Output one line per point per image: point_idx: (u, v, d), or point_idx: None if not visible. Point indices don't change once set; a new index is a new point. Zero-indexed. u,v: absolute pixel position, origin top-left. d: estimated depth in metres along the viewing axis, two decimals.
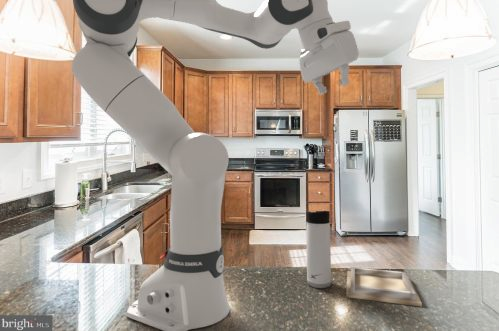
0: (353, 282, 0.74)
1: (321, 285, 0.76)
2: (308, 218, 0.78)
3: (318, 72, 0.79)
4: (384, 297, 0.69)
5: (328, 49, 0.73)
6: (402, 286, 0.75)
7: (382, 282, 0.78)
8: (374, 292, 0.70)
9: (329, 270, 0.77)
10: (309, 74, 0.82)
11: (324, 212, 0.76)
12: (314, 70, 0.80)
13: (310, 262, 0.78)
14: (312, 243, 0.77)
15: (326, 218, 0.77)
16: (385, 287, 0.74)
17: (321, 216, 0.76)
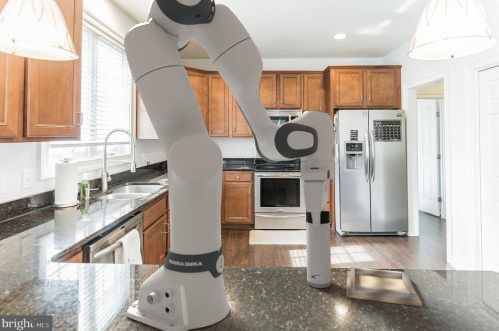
0: (353, 282, 0.74)
1: (321, 285, 0.76)
2: (308, 218, 0.78)
3: None
4: (384, 297, 0.69)
5: None
6: (402, 286, 0.75)
7: (382, 282, 0.78)
8: (374, 292, 0.70)
9: (329, 270, 0.77)
10: None
11: (324, 212, 0.76)
12: None
13: (310, 263, 0.78)
14: (312, 243, 0.77)
15: (326, 218, 0.77)
16: (385, 287, 0.74)
17: (321, 216, 0.76)
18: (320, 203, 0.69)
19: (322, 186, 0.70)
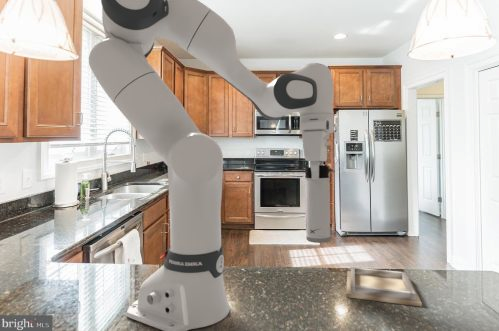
0: (353, 282, 0.74)
1: (320, 239, 0.76)
2: (307, 173, 0.78)
3: None
4: (384, 297, 0.69)
5: None
6: (402, 286, 0.75)
7: (382, 282, 0.78)
8: (374, 292, 0.70)
9: (328, 225, 0.77)
10: None
11: (323, 166, 0.76)
12: None
13: (309, 218, 0.77)
14: (311, 197, 0.77)
15: (325, 173, 0.77)
16: (385, 287, 0.74)
17: (320, 170, 0.76)
18: (319, 151, 0.69)
19: (321, 134, 0.70)
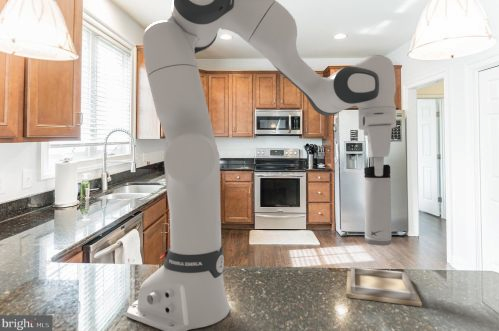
0: (353, 282, 0.74)
1: (382, 242, 0.73)
2: (368, 173, 0.75)
3: (369, 153, 0.78)
4: (384, 297, 0.69)
5: None
6: (402, 286, 0.75)
7: (382, 282, 0.78)
8: (374, 292, 0.70)
9: (390, 227, 0.74)
10: (368, 152, 0.82)
11: (386, 165, 0.73)
12: None
13: (370, 219, 0.74)
14: (372, 198, 0.74)
15: (388, 172, 0.73)
16: (385, 287, 0.74)
17: (383, 170, 0.73)
18: (388, 146, 0.66)
19: (390, 129, 0.67)
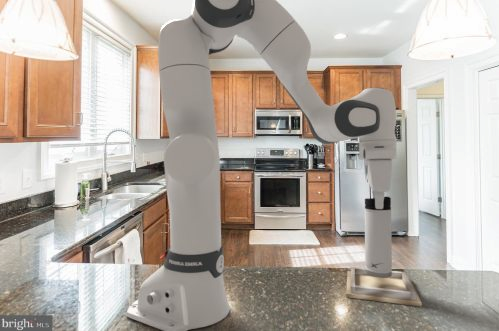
0: (353, 282, 0.74)
1: (383, 274, 0.73)
2: (368, 204, 0.75)
3: None
4: (384, 297, 0.69)
5: None
6: (402, 286, 0.75)
7: (382, 282, 0.78)
8: (374, 292, 0.70)
9: (390, 259, 0.74)
10: None
11: (387, 198, 0.73)
12: (369, 179, 0.80)
13: (371, 251, 0.74)
14: (373, 230, 0.74)
15: (388, 204, 0.73)
16: (385, 287, 0.74)
17: (383, 202, 0.73)
18: (389, 182, 0.66)
19: (390, 164, 0.67)
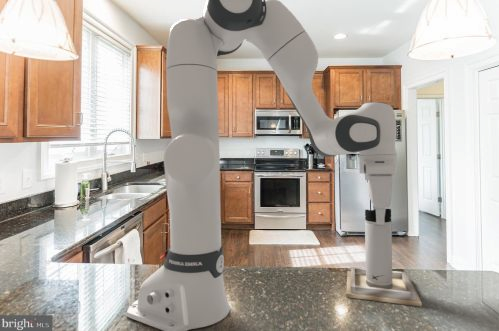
0: (353, 282, 0.74)
1: (384, 286, 0.73)
2: (368, 216, 0.75)
3: (370, 197, 0.78)
4: (384, 297, 0.69)
5: None
6: (402, 286, 0.75)
7: None
8: (374, 292, 0.70)
9: (391, 271, 0.74)
10: (369, 193, 0.82)
11: (387, 210, 0.73)
12: None
13: (371, 263, 0.74)
14: (373, 242, 0.74)
15: (388, 216, 0.73)
16: None
17: None
18: (389, 198, 0.66)
19: (391, 180, 0.67)
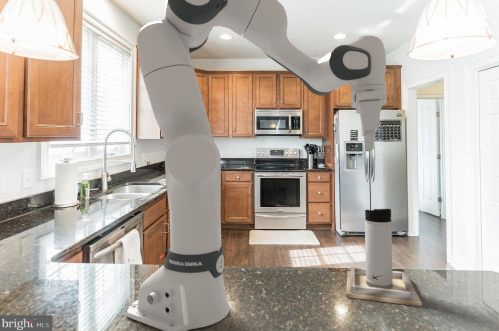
0: (353, 282, 0.74)
1: (384, 286, 0.73)
2: (368, 216, 0.75)
3: None
4: (384, 297, 0.69)
5: None
6: (402, 286, 0.75)
7: None
8: (374, 292, 0.70)
9: (391, 271, 0.74)
10: None
11: (387, 210, 0.73)
12: None
13: (371, 263, 0.74)
14: (373, 242, 0.74)
15: (388, 216, 0.73)
16: None
17: (383, 214, 0.73)
18: (377, 120, 0.70)
19: (379, 103, 0.71)
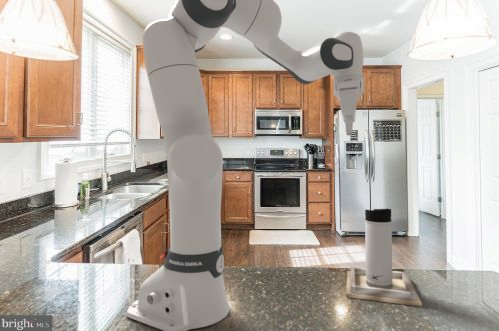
0: (353, 282, 0.74)
1: (384, 286, 0.73)
2: (368, 216, 0.75)
3: None
4: (384, 297, 0.69)
5: None
6: (402, 286, 0.75)
7: None
8: (374, 292, 0.70)
9: (391, 271, 0.74)
10: None
11: (387, 210, 0.73)
12: None
13: (371, 263, 0.74)
14: (373, 242, 0.74)
15: (389, 216, 0.73)
16: None
17: (384, 214, 0.73)
18: (354, 105, 0.81)
19: (356, 91, 0.81)
